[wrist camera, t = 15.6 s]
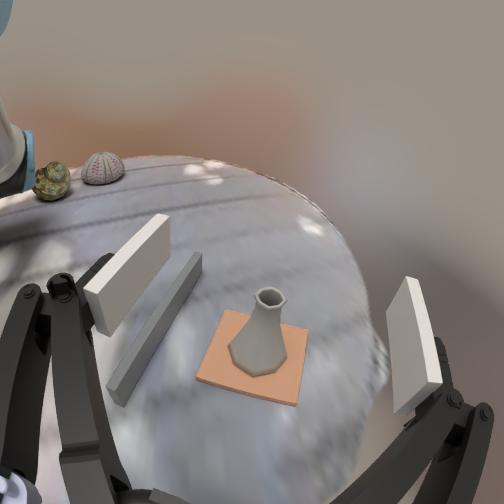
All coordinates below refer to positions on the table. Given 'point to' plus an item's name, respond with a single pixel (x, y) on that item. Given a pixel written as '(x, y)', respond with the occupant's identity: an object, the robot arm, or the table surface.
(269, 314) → the flask
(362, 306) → the table surface
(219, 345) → the terracotta tile
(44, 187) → the seashell
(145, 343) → the low wall
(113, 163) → the sea urchin shell
